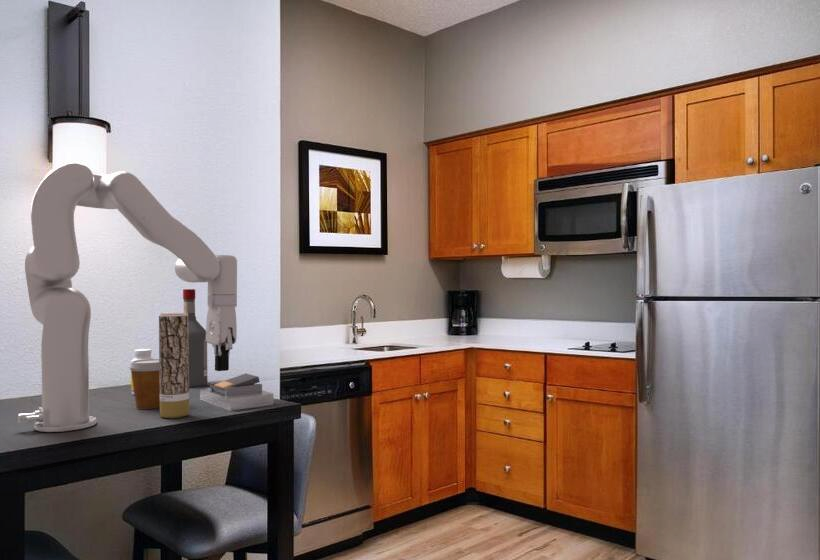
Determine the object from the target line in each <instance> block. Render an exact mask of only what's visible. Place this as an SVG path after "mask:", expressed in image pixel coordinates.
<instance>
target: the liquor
mask: <svg viewBox="0 0 820 560" xmlns="http://www.w3.org/2000/svg"><path fill="white" fill-rule="evenodd" d="M182 299H183V313H187V314H188V320H189V389H190V388H197V387H204V386H206V385H207V384H208V343H207V342H206V328H204V327H203V325H202V324H201V323H200V322H199V321H198V320H197V317H196V288H195V289H194V288H192V289H191V288H189V289H182Z"/></svg>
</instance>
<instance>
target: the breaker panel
mask: <svg viewBox="0 0 820 560" xmlns="http://www.w3.org/2000/svg"><path fill="white" fill-rule="evenodd" d="M220 382H221V381H217V382H210V383H209V387H204V388H199V400H200V401H202V400H203V402H205V403H207V404H211V405H214V406H216V407H218V408H220V409H221V408H222V409H225V410H227V411H230V412H231V411H238V410H246V409H253V408H260V407H268V406H273V405H274V393H273V392H270V391H266V390H263V384H262V383H256V384H253V385H244V386H235V387H227V388H225V394H222V393H219V392H216V391H213V388H212V385H214V384H217V383H220Z"/></svg>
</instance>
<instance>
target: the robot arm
mask: <svg viewBox="0 0 820 560" xmlns="http://www.w3.org/2000/svg"><path fill="white" fill-rule="evenodd" d="M77 206H79V207H86V208H92V209H102V210H103V209H104V210H105V209H106V210H118V212H119V213H120V214H121V216H123V217H124V218H125V219H126V220H127V221H128V223H130V224H131V225H132V226H133V228H135V230H136V231H137V232H138V233H139V234H140V235H141V237H143V239H146V240H148V241H149V242H151V243H153V244H155V245H158V246H159V247H163V248H164V249H166V250H168V251H169V252H170V253H172V254H174V256H176V257H177V260H176V262H175V265H174V272H175V274H176V276H177V277H178V278H179V279H180V280H181V281H184V282H187V283H207V307H208V308H207V314H206V323H205V330H206V342H207V344H209V345H210V344H211V346H212V348H213V350H214V351H213V353H214V371H216V372H226V371H229V369H230V368H229V367H230V353H231V350H233V345H234V344H236V342H237V339H238V337H237V335H238V334H237V332H238V330H237V329H238V328H237V327H238V326H237V311H236V308H237V307H238V259H237V258H236V256H234V255H229V254H226V255H225V254H215V253H214V252H213V251H212V250H211V248H209V246H208V245H207V244H206V243H205V241H203V240H202V239H201V237H200V236H198V235H197V234H196V233H195V232H194V231H192V229H189V228H188V227H187V226H186V225H185V224H183V223H182V222H181V221H179V219H177V218H175V217H174V216H173V215H171V213H170V212H169V211H168V210H167V209H166V208H165V207H164V206H163V205H162V204H161V202H160V201H159V200H158V199H157V198H156V197H155V196H154V195H153V194H152V193H151V192H150V191H149V189H148V188H147V187H146V186H145V185H144V183H142V182H141V180H139V178H137V176H136V175H135V174H133V173H131V172H128V171H117V172H114V173H111V174H98V173H97V174H96V173H93V172H92V170H91V169H90V167H89V166H87V165H86V164H84V163H82V162H78V161H71V162H66V163H63V164H61V165H59V166H57V167H55V168H52V169H51V170H50V171H48V172H47V173H46V175H45V177H44V178H43V180H41V182H40V183H39V185H38V187H37V188H36V190H35V193H34V194H33V198H32V201H31V207H30V220H31V232H32V241H33V246H32V247H30V249H29V250H28V252H27V254H26V255H25V260H24V271H25V272H24V273H25V279H26V285H27V286H26V287H27V293H28V299H29V305H30V309H31V312H32V315H33V317H34V318H35V320H36V321H37V322H38V323H40V324H41V325H42V334H41V348H40V350H41V351H40V353H41V354H40V357H41V406H38V410H34V411H33V412H30V413H29V412H28V413H27V412H26V413H18V415H17V422H18V424H21V423H26V424H28V423H34V425H33V427H34V428H33V429H34V430H35V431H38V432H42V433H59V432H70V431H71V432H72V431H77V430H83V429H87V428H90V427H93V426H95V425H96V424H97V417H96V416H92V415H90V383H89V382H90V381H89V380H90V379H89V378H90V374H89V372H90V370H89V368H90V367H89V363H90V362H89V360H90V359H89V336H90V335H89V334H90V325H91V317H92V312H91V311H92V310H91V303H90V301H89V300H88V298H87V297H86V295H85V294H84V293H82V292H81V291H79V290H78V289H75V288H73V283H72V278H74V277H75V276H76V275H77V273H78V271H79V269H80V263H81V262H80V254H79V251H78V245H77V237H76V230H75V229H76V228H75V210H76V207H77Z"/></svg>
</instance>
